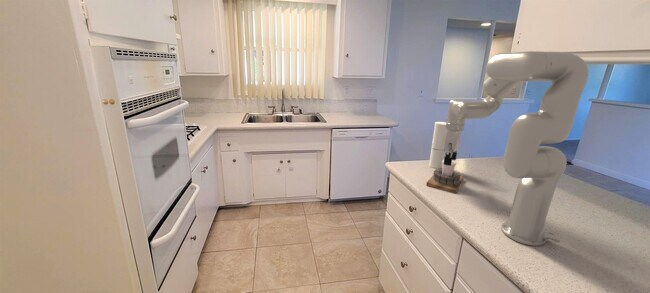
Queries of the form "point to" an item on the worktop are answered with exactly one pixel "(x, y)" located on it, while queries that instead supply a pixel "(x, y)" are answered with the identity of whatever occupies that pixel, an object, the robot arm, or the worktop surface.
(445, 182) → the block
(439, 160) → the cylindrical container
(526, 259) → the worktop surface
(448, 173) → the smoothie
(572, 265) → the worktop surface
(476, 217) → the worktop surface
